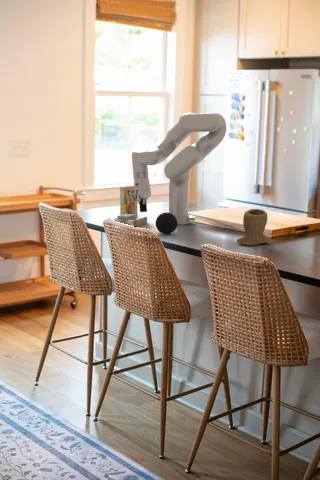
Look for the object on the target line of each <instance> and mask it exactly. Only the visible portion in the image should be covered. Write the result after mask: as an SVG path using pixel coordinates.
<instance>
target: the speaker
mask: <svg viewBox="0 0 320 480" xmlns="http://www.w3.org/2000/svg"><path fill="white" fill-rule="evenodd" d="M155 228H156V230H157V231H158V232H159V233H160V234H162V235H170V234H173V233H174V232H175V231H176V230H177V228H178V225H177V219H176V217H175V216H174V215H173V214H171V213H169V212H162V213H160V214H159V215H157V217H156V219H155Z"/></svg>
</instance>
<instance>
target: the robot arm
mask: <svg viewBox="0 0 320 480" xmlns="http://www.w3.org/2000/svg"><path fill="white" fill-rule="evenodd" d="M194 132H198V133H199V132H200V133H201V132H202V133H204V132H205V133H204V134H203V135H202V136H201V137H200V138H198V140H197V141H195V142H194V143H193V144H191V145H187V146H186V147H184V148H183V149H181V150H180V151H179V152H178V153H177V154H176V155H175V156H174V157H172V159H170V160H169V161H168V162H167V163H166V164H165V165H164V169H163V170H164V171H163V173H164V175H165V177H166V178H167V180H169V184H168V213H171V214H173V215H174V216H175V217H176V219H177V226H179V225H190V224H191V223H192V221H194V222H195V221H196V216H193V215H191V213H189V180H190V170H191V169H192V168H194V167H195V166H196V165H198V164H200V163H201V162H202V161H203V160H204V159H205V158H206V157H207V156H209V154H210V153H212V152H213V151H214V149H216V148H217V147H218V146H219V145H220V144H221V142H222V141H223V140H224V138H225V136H226V134H227V123H226V119H225V117H224V116H223V115H222V114H220V113H215V112H213V113H194V112H187V113H186V112H185V113H183V114H182V115H181V116H180V118H179V119H178V122H177V123H176V124H175V125H174V126H173V127H171V128H170V130H168V132H167V133H166V137H165V139H164V140H162V142H161V143H159V145H158V146H157V147H155V148H154V149H153V148H152V149H150V150H136V151H135V150H134V151H132V152H131V164H132V175H133V186H134V195H135V198H136V199H137V203H138V206H139V212H140V213H147V212H148V205H147V202H148V199H149V198H150V197H151V196H152V190H151V184H150V180H149V179H150V178H149V167H148V166H156V165H159V164H162V163H163V162H164V161H165V160H166V159H168V157H170V156H171V155H172V154H173V153H174V152H175V151H176V149H178V148H179V146H180V145H181V144H182V143H184V141H185V140H186V139H188V138H189V136H191V135H192V134H193V133H194Z"/></svg>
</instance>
